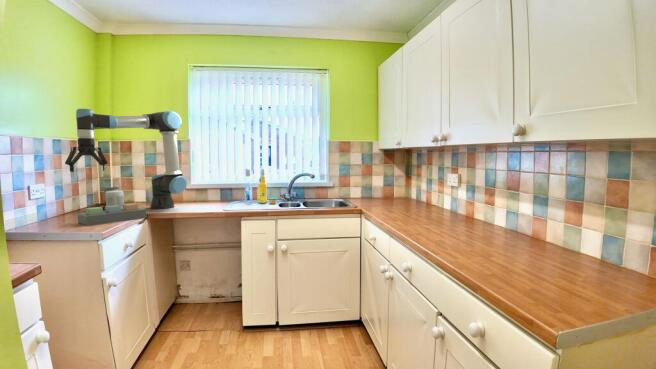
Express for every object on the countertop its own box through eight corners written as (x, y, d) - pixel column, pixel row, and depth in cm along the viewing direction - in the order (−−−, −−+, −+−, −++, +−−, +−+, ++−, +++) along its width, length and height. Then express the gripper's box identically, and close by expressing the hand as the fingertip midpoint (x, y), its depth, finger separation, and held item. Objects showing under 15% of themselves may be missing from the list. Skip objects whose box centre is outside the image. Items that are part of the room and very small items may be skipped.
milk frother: (119, 210, 232) (118, 188, 231) (91, 212, 226) (90, 189, 224) (121, 207, 245) (120, 186, 244) (95, 208, 238) (93, 187, 237)
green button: (99, 214, 193) (98, 206, 193) (103, 215, 190) (102, 207, 189) (86, 215, 189) (86, 208, 188) (90, 216, 185) (89, 209, 185)
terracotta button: (133, 209, 207) (133, 203, 207) (138, 210, 203) (137, 204, 203) (122, 211, 203) (122, 204, 202) (126, 212, 199) (126, 205, 198)
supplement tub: (123, 213, 219) (122, 190, 218) (126, 215, 212) (125, 191, 211) (105, 215, 213) (104, 191, 212) (107, 217, 206) (106, 192, 205)
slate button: (117, 211, 200) (116, 205, 200) (121, 213, 196) (120, 205, 196) (105, 213, 196) (104, 206, 195) (109, 214, 192) (108, 207, 192)
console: (136, 215, 212) (136, 207, 212) (146, 217, 203) (146, 209, 203) (78, 222, 189) (77, 213, 189) (86, 226, 180) (85, 216, 180)
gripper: (105, 139, 200) (107, 176, 202) (55, 137, 178) (58, 178, 180) (113, 139, 197) (115, 176, 198) (63, 136, 175) (65, 178, 176)
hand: (88, 177), depth 189 cm, fingers open, 13 cm apart
